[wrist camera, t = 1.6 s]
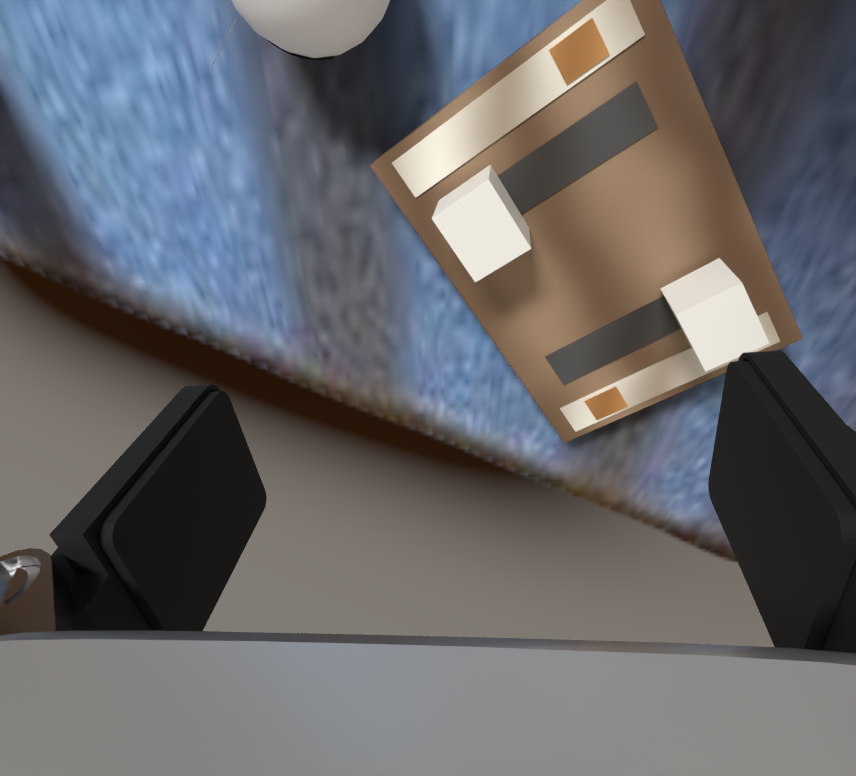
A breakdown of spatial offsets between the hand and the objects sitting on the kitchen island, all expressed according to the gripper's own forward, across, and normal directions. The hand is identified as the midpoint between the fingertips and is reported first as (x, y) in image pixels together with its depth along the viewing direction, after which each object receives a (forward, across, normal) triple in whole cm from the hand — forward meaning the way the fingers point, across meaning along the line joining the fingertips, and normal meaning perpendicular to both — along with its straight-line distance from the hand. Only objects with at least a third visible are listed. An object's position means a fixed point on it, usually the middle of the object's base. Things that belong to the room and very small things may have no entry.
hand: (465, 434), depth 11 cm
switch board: (+23, -5, +4) cm, 23 cm away
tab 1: (+20, 0, +1) cm, 20 cm away
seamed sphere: (+23, +8, -10) cm, 26 cm away
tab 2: (+20, -10, +7) cm, 23 cm away
